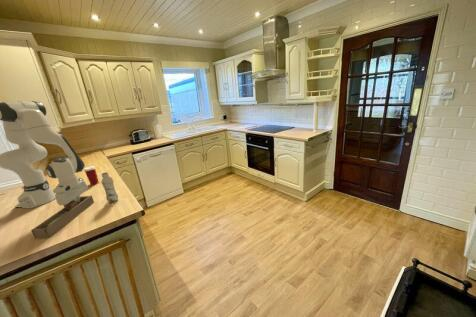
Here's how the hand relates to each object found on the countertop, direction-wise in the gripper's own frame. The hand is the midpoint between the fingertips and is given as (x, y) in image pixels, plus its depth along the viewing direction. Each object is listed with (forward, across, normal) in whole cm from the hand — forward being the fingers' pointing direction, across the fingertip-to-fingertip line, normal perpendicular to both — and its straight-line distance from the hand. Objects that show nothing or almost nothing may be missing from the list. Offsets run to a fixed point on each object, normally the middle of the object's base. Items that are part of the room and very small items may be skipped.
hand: (77, 203), depth 126 cm
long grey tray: (+4, +10, 0) cm, 11 cm away
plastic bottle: (+5, -8, +17) cm, 19 cm away
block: (+1, +4, 0) cm, 4 cm away
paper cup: (+5, -42, -18) cm, 45 cm away
